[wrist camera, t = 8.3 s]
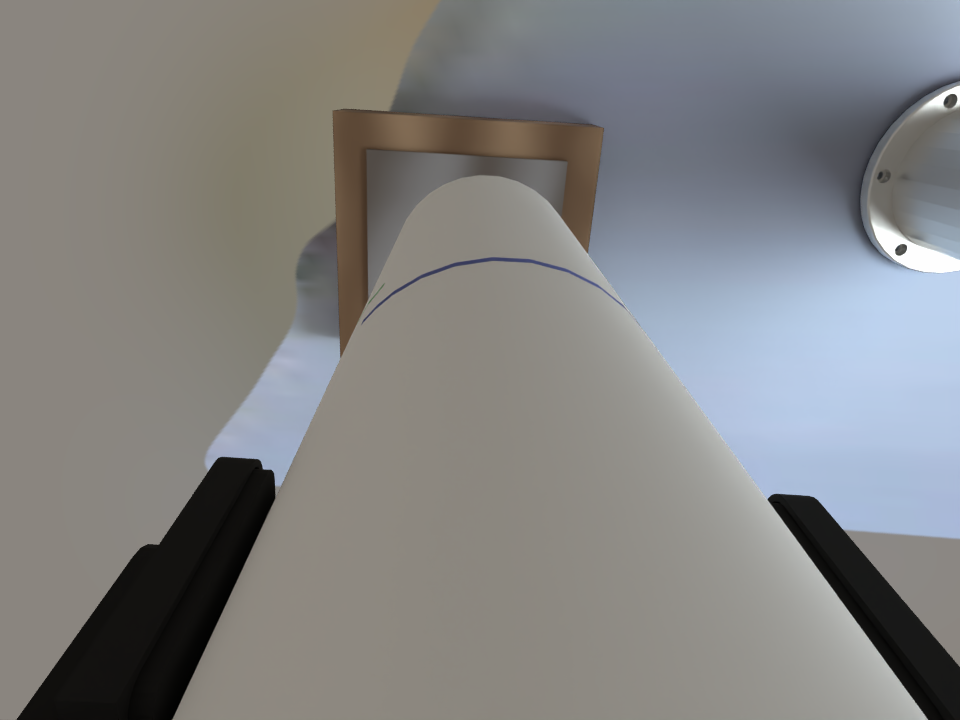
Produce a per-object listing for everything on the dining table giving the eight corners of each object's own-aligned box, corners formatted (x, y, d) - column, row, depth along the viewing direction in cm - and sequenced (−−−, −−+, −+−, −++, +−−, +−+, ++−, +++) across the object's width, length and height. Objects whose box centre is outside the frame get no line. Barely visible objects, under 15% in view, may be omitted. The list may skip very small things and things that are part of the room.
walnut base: (591, 124, 41) (605, 128, 37) (564, 350, 47) (573, 375, 43) (345, 108, 40) (331, 111, 36) (350, 339, 46) (339, 363, 42)
